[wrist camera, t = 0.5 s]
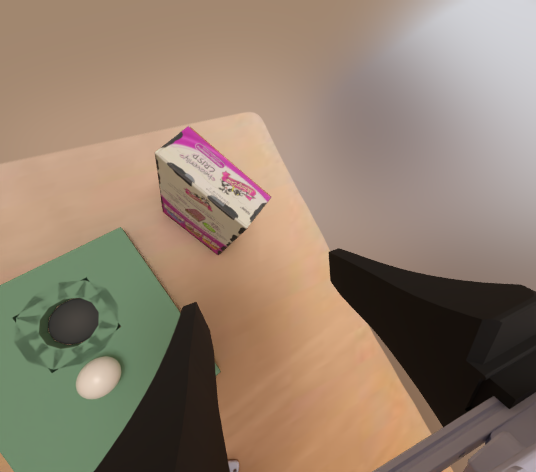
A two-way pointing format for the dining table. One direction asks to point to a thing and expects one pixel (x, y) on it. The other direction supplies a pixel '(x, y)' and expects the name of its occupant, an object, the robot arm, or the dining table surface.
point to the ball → (98, 377)
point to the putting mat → (78, 352)
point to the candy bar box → (206, 191)
